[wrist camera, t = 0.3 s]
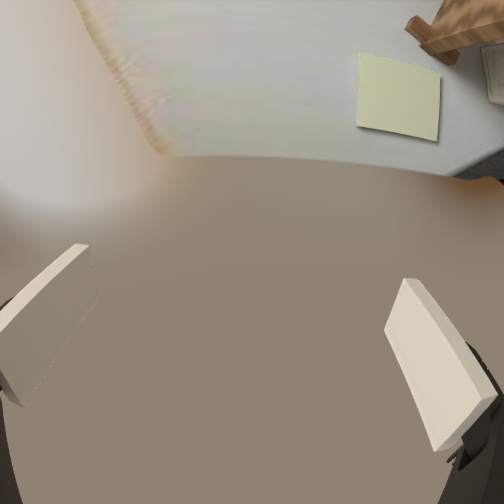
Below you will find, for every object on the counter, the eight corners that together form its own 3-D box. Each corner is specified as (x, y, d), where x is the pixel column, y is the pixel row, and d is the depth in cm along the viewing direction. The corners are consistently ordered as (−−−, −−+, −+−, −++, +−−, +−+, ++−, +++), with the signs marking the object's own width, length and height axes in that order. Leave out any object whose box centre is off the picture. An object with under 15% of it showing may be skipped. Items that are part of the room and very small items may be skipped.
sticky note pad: (358, 53, 30) (360, 51, 29) (437, 73, 29) (440, 73, 29) (355, 125, 34) (357, 126, 33) (433, 140, 34) (436, 141, 33)
